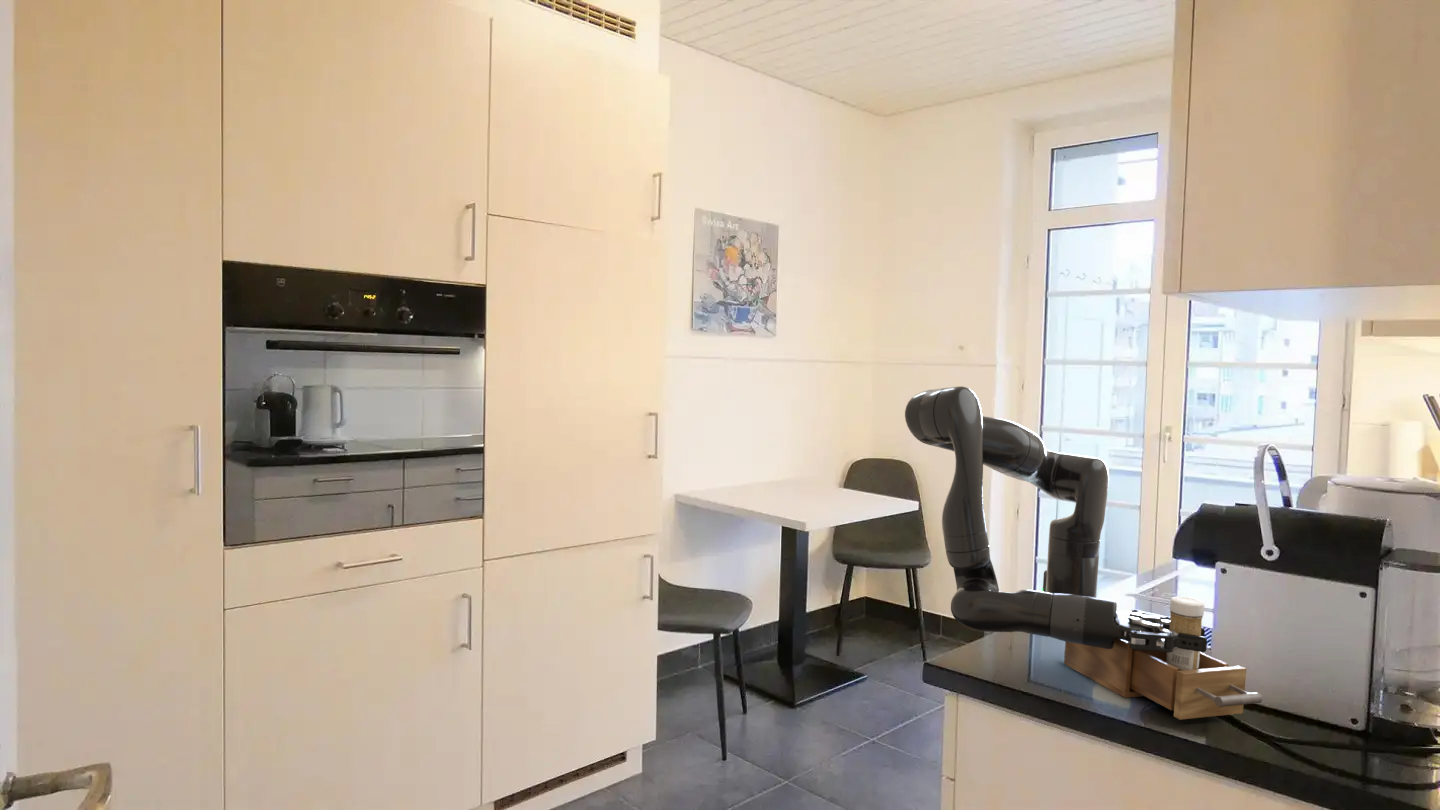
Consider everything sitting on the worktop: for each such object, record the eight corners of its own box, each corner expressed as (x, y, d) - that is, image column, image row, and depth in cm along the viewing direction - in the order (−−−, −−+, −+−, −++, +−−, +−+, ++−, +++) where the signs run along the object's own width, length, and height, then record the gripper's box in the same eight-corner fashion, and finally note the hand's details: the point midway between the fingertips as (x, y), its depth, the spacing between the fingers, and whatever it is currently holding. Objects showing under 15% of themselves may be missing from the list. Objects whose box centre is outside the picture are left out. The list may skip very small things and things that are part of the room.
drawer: (1272, 727, 125) (1276, 681, 125) (1207, 734, 122) (1210, 687, 122) (1172, 678, 143) (1175, 637, 142) (1113, 684, 140) (1116, 642, 139)
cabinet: (1191, 691, 140) (1195, 638, 139) (1124, 697, 137) (1128, 643, 136) (1125, 659, 154) (1128, 610, 153) (1063, 663, 151) (1067, 614, 150)
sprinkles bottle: (1203, 689, 134) (1210, 602, 132) (1186, 694, 131) (1194, 606, 130) (1173, 678, 137) (1180, 593, 136) (1157, 683, 135) (1164, 597, 134)
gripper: (1081, 608, 133) (1211, 628, 126) (1086, 585, 146) (1204, 603, 139) (1078, 657, 133) (1206, 680, 126) (1083, 630, 146) (1200, 649, 139)
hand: (1204, 639), depth 132 cm, fingers closed on sprinkles bottle, 4 cm apart
